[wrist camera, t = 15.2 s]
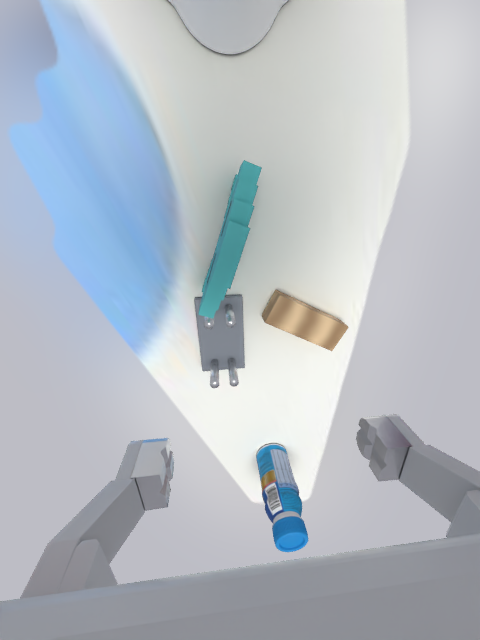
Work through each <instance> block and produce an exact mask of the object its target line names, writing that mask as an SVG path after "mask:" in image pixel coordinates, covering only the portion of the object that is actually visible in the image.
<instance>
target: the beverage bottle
mask: <svg viewBox="0 0 480 640" xmlns="http://www.w3.org/2000/svg"><path fill="white" fill-rule="evenodd" d="M257 463H258V468H259V474H260V480H261V486H262V497H263V500H264V502H265V510H266V513H267V515H268V517H269V519H270V520H271V522H272V523H273V526H272V529H273V537H274V542H275V545H276V547H277V549H279V550H280V551H283V552H293V551H296V550H299V549H301V548H303V547H304V546H305V545H306V543H307V542H308V534H307V531H306V528H305V524H304V521H303V520H302V518H301V512H302V502H301V499H300V497H299V490H298V486H297V484H296V483H295V480H294V477H293V474H292V470H291V467H290V464H289V460H288V456H287V452H286V450H285V448H284V447H283V446H281V445H279V444H268V445H265V446H263V447H262V448H261V449H260V450H259V451H258V453H257Z"/></svg>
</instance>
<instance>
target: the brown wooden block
mask: <svg viewBox="0 0 480 640" xmlns="http://www.w3.org/2000/svg"><path fill="white" fill-rule="evenodd" d="M262 317H263V320H264V322H265V323H267V324H269V325H272V326H274V327H276V328H279V329H281V330H284V331H286V332H288V333H291V334H293V335H295V336H298V337H300V338H302V339H305V340H307V341H309V342H312V343H314V344H316V345H319V346H321V347H323V348H326V349H328V350H331V351H332V350H333V349H334V348H335V346H336V345H337V343H338V342H339V340H340V339H341V337H342V336H343V334H344V333H345V332H346V330H347V329H348V326H347V325H346V324H345V323H343V322H342V321H341V320H339V319H337V318H335V317H333V316H331V315H329V314H327V313H324V312H322V311H320V310H318V309H316V308H314V307H312V306H310V305H307V304H305V303H303V302H301V301H299V300H297V299H295V298H293V297H290V296H288V295H286V294H284V293H282V292H280V291H278V290H275V292H274V294H273V296H272V297H271V299H270V301H269V303H268V305H267V307H266V308H265V310H264V312H263V314H262Z"/></svg>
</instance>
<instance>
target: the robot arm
mask: <svg viewBox="0 0 480 640" xmlns="http://www.w3.org/2000/svg"><path fill="white" fill-rule="evenodd" d="M168 1H169V2H170V3H172V4H173V6H174V7H175V9H176V10H177V12H178V14H179V15H180V17H181V19H182V21H183V22H184V24H185V26H186V27H187V28H188V30H189V31H190V32H191V34H192V35H193V36H194V37H195V38H196V39H197V40H198V41H199V42H200V43H202V44H203V45H204V46H206V47H207V48H209V49H211V50H213V51H216V52H219V53H223V54H237V53H241V52H244V51H246V50H249V49H250V48H252V47H253V46H255V45H256V44H257V43H259V42H260V41H261V40H262V39H263V37H264V36H265V35H266V34H267V32H268V31H269V29H270V28H271V26H272V24H273V22H274V20H275V18H276V16H277V14H278V12H279V10H280V8H281V7H282V6H283V5H284V4H285V3H286V2H287V1H288V0H168ZM359 426H360V427H361V429H360V430H359V431H358V432H357V437H356V440H357V444H358V447H359V450H360V452H361V454H362V455H363V456H364V457H365V458H367V459H368V460H369V467H370V468H371V470H372V472H373V473H374V475H375V476H376V478H377V479H378V481H388V480H399V481H400V482H401V483H403V484H404V485H405V486H407V487H408V488H409V489H410V490H411V491H413V492H414V493H415V494H416V495H418V496H419V497H420V498H421V499H423V500H424V501H425V502H426V503H428V504H429V505H430V506H431V507H433V508H434V509H435V510H436V511H438V512H439V513H440V514H441V515H443V516H444V517H445V518H446V519H448V520H449V521H450V522H451V525H450V527H449V529H448V531H447V535H446V537H447V538H444V539H436V540H429V541H422V542H415V543H409V544H401V545H394V546H387V547H380V548H373V549H366V550H359V551H352V552H344V553H337V554H331V555H323V556H316V557H309V558H303V559H295V560H288V561H281V562H274V563H267V564H260V565H253V566H246V567H239V568H232V569H225V570H219V571H211V572H204V573H197V574H190V575H184V576H176V577H170V578H162V579H155V580H148V581H141V582H134V583H127V584H120V585H117V582H116V579H115V577H114V574H113V572H112V570H111V568H110V566H109V564H110V562H111V561H112V559H113V558H114V557H115V555H116V554H117V552H118V551H119V549H120V548H121V546H122V545H123V543H124V542H125V540H126V539H127V537H128V536H129V535H130V533H131V532H132V530H133V529H134V527H135V526H136V524H137V523H138V521H139V520H140V518H141V517H142V516H143V514H144V512H145V510H152V509H159V508H165V507H168V502H169V496H170V490H171V489H170V484H169V481H170V480H171V479H172V477H173V470H174V458H173V452H172V451H170V447H171V443H170V439H169V438H164V439H152V440H142V441H141V440H140V441H131V442H130V444H129V445H128V447H127V450H126V453H125V456H124V458H123V461H122V463H121V466H120V469H119V471H118V474H117V477H116V479H115V481H111V482H110V483H109V484H108V485H107V486H105V488H104V489H102V490H101V492H99V493H98V494H97V495H96V496H95V497H94V499H92V500H91V502H89V503H88V504H87V505H86V506H85V507H84V508H83V509H82V510H81V511H80V512H79V513H78V514H77V516H75V517H74V518H73V519H72V520H71V521H70V522H69V523H68V524H67V525H66V526H65V527H64V528H63V529H62V530H61V531H60V532H59V533H58V534H57V535H56V536H55V537H54V538H53V539H52V540H51V541H50V542H49V543H48V545H47V546H46V548H45V550H44V553H43V554H42V556H41V558H40V560H39V562H38V564H37V566H36V568H35V570H34V572H33V574H32V576H31V578H30V580H29V582H28V584H27V586H26V588H25V590H24V592H23V594H22V595H21V597H20V599H14V600H7V601H0V640H480V472H479V471H477V470H475V469H474V468H472V467H470V466H468V465H466V464H464V463H462V462H461V461H459V460H457V459H455V458H453V457H451V456H449V455H447V454H446V453H444V452H442V451H440V450H438V449H436V448H434V447H432V446H431V445H425V444H424V443H423V442H422V440H420V438H419V437H418V436H417V435H416V434H415V433H414V432H413V431H412V430H411V429H410V427H409V426H408V425H407V424H406V423H405V422H404V421H403V420H402V419H401V418H400V417H399V416H398V415H396V414H393V415H384V416H383V415H382V416H374V417H365V418H361V419H360V421H359Z"/></svg>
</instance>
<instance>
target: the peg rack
mask: <svg viewBox="0 0 480 640" xmlns="http://www.w3.org/2000/svg"><path fill="white" fill-rule="evenodd" d="M201 299H202V297H196V298H195V308H196V317H197V326H198V334H199V343H200V352H201V361H202V370H203V371H211V375H210V386H211V387H212V388H217V387H218V386H219V370H224V369H229V379H230V385H231V386H237V385H238V383H239V382H238V375H237V368H245V364H244V334H243V305H242V295H228V296H225V297H224V300H221V303H220V306H219V309H218V310H216V312H215V315H214V318H213V319H212V318H208V317H205V316H201V315H198V313H199V307H200V302H201Z"/></svg>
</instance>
